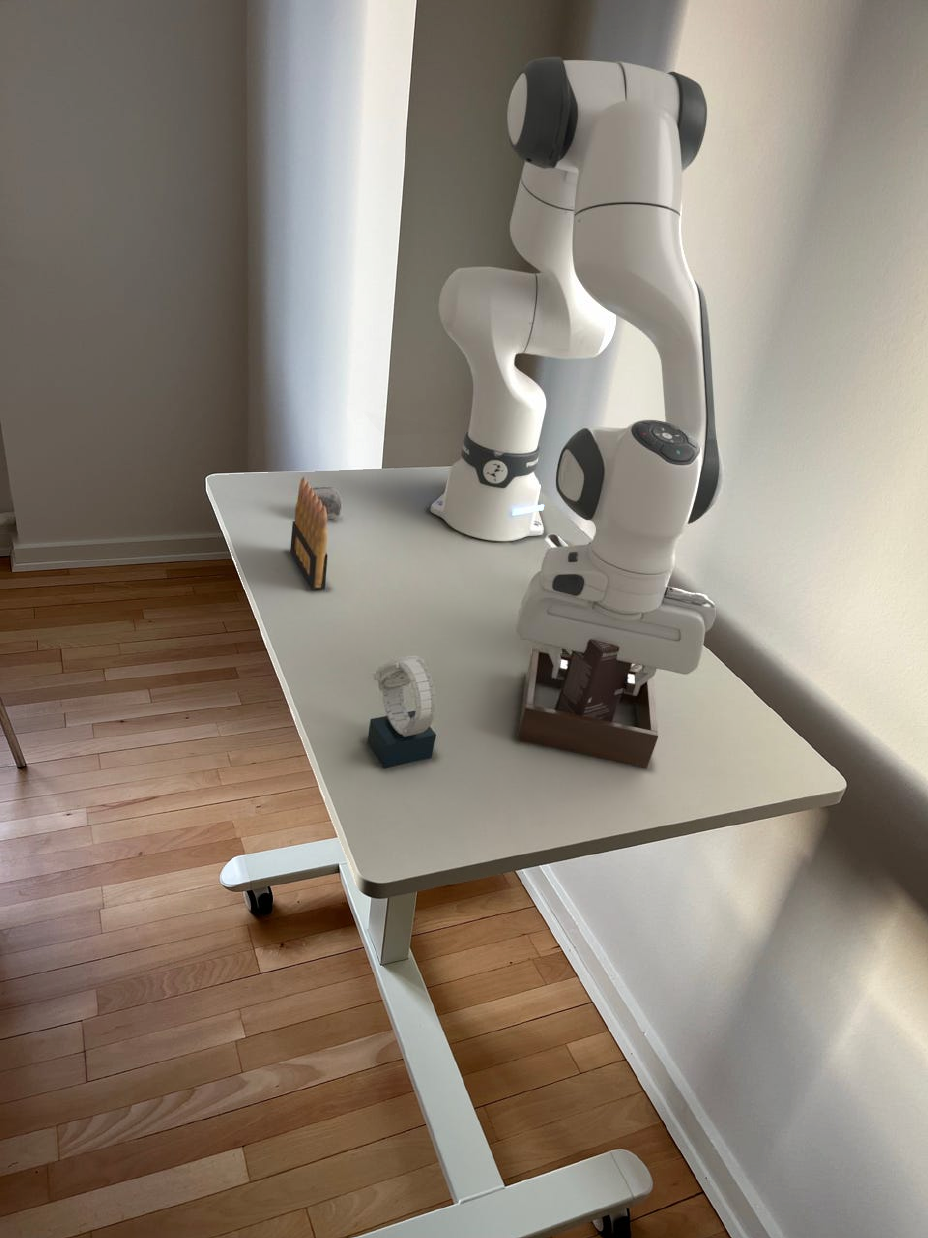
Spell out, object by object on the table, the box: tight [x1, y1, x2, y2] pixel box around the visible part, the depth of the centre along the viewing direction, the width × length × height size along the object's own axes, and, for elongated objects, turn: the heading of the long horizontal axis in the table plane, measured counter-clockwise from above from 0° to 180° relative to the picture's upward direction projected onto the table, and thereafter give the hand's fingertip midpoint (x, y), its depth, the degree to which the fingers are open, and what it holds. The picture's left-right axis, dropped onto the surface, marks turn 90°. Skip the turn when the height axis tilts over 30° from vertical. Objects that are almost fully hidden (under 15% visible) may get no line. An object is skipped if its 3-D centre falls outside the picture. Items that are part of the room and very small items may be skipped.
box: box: [553, 639, 632, 722], centre depth 100 cm, size 6×4×12 cm
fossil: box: [312, 486, 343, 521], centre depth 135 cm, size 6×3×5 cm, turn 122°
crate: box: [517, 646, 659, 769], centre depth 102 cm, size 13×15×4 cm
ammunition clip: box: [289, 476, 328, 591], centre depth 119 cm, size 11×2×12 cm, turn 25°
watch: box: [367, 655, 437, 769], centre depth 90 cm, size 6×8×11 cm
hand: (593, 684), depth 100 cm, fingers closed on box, 7 cm apart
